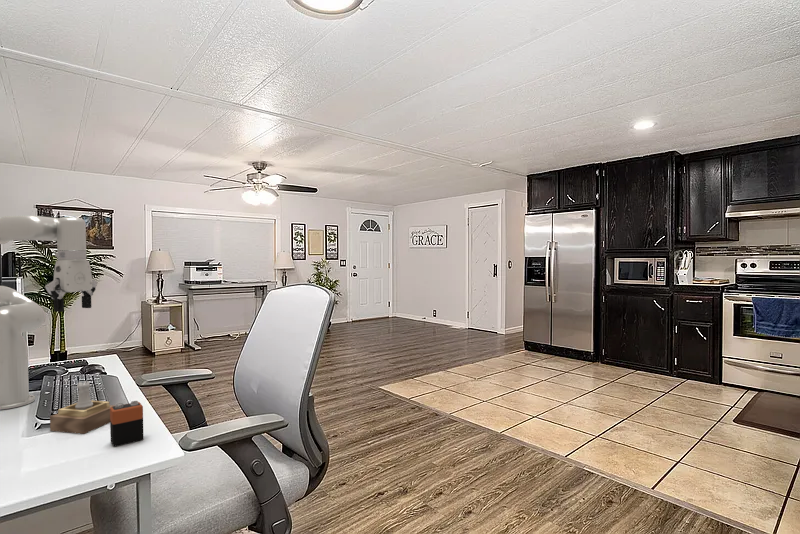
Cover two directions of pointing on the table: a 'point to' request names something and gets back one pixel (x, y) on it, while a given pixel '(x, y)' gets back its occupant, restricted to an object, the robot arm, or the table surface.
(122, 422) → the battery
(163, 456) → the table surface
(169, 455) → the table surface
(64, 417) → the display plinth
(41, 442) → the table surface
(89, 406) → the rook chess piece
